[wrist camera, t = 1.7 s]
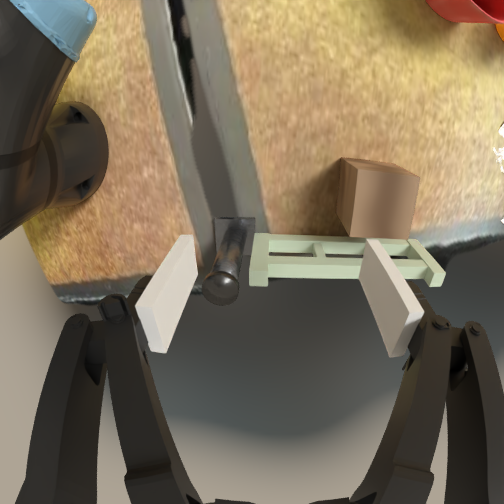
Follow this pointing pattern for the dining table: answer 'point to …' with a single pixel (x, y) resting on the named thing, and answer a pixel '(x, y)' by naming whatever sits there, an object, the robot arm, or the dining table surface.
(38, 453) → the robot arm
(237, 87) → the dining table surface
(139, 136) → the dining table surface
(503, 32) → the cylinder
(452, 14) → the flower pot
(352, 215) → the walnut block
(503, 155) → the white broken fragments
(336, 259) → the green fence panel
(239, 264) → the hinge post
